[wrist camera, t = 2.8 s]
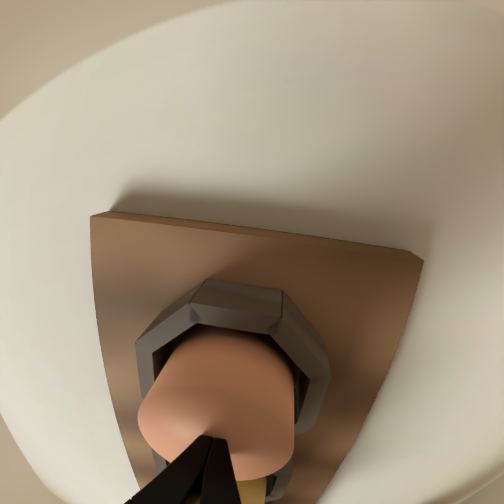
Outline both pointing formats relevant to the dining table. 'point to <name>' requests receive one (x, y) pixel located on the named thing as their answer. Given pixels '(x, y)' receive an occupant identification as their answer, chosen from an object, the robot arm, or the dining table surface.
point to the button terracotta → (224, 399)
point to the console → (252, 324)
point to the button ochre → (252, 491)
